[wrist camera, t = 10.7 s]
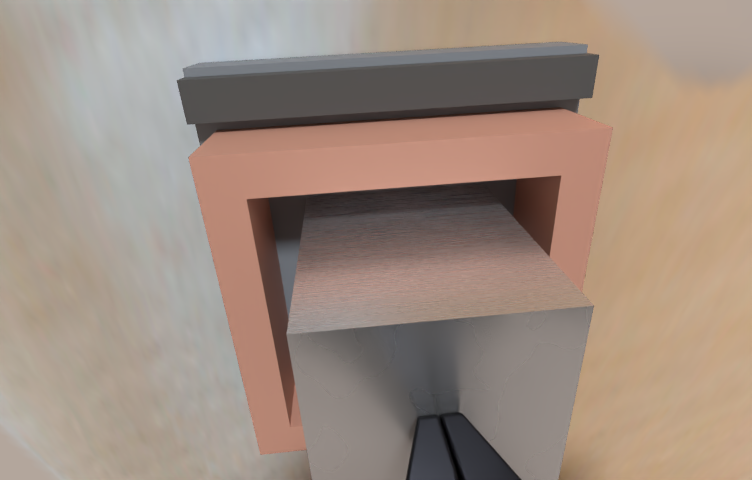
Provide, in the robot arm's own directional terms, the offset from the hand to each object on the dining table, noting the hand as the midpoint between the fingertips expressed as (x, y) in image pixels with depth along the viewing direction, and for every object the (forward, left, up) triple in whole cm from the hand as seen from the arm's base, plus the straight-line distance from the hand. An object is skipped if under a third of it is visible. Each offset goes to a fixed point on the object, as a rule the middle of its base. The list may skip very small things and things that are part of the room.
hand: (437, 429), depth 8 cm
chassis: (0, 0, -8) cm, 8 cm away
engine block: (0, 0, -6) cm, 6 cm away
